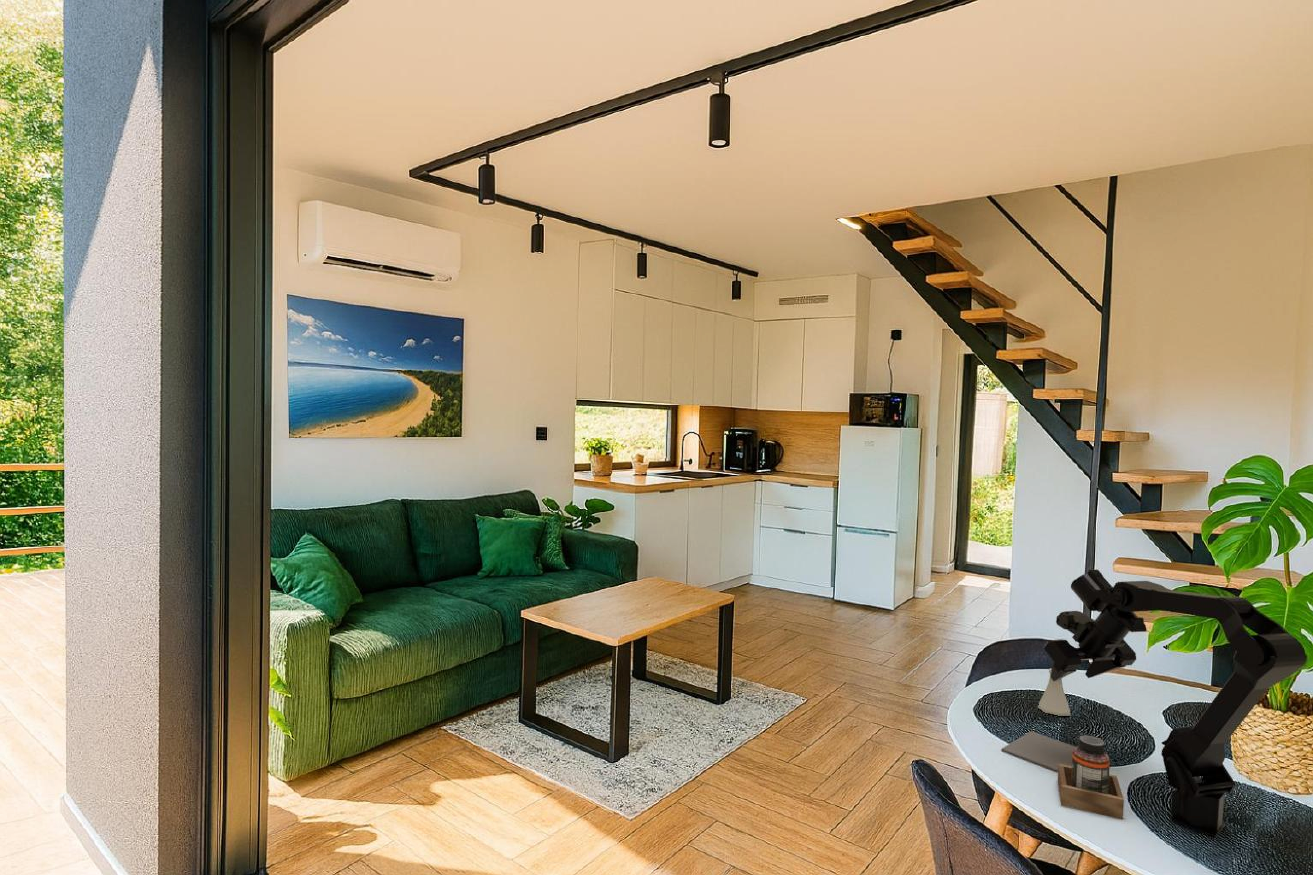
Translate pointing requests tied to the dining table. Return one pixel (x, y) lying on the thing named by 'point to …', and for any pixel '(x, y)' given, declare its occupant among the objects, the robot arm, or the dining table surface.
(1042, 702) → the flask
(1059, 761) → the grey-brown square block
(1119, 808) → the walnut box
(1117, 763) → the dining table surface
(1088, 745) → the supplement bottle
